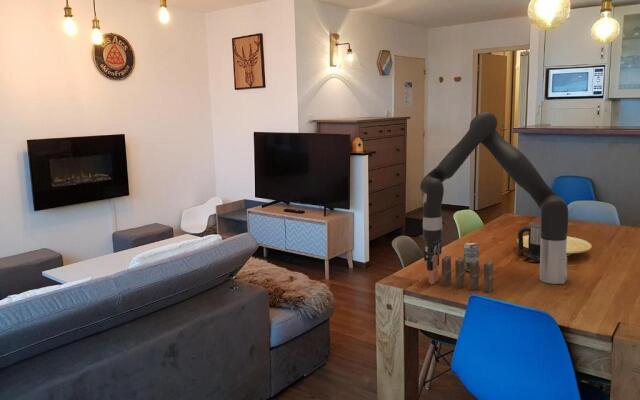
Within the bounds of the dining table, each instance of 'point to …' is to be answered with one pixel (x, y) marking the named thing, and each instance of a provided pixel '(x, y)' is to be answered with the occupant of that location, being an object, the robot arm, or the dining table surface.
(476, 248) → the beverage can
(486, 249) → the dining table surface
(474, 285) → the tile
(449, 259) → the tile
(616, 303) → the dining table surface
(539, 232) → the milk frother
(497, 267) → the dining table surface
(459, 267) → the tile
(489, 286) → the tile
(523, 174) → the robot arm
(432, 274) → the end tile
